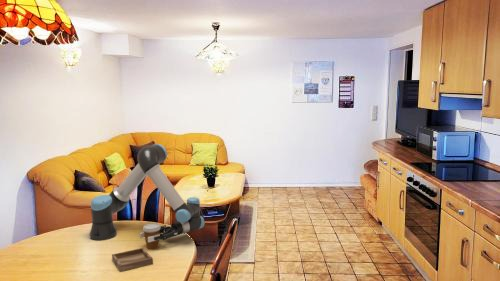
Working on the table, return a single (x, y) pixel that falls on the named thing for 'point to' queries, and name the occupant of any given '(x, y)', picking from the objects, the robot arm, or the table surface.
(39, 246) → the table surface
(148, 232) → the disposable coffee cup
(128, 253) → the walnut tray
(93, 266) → the table surface
